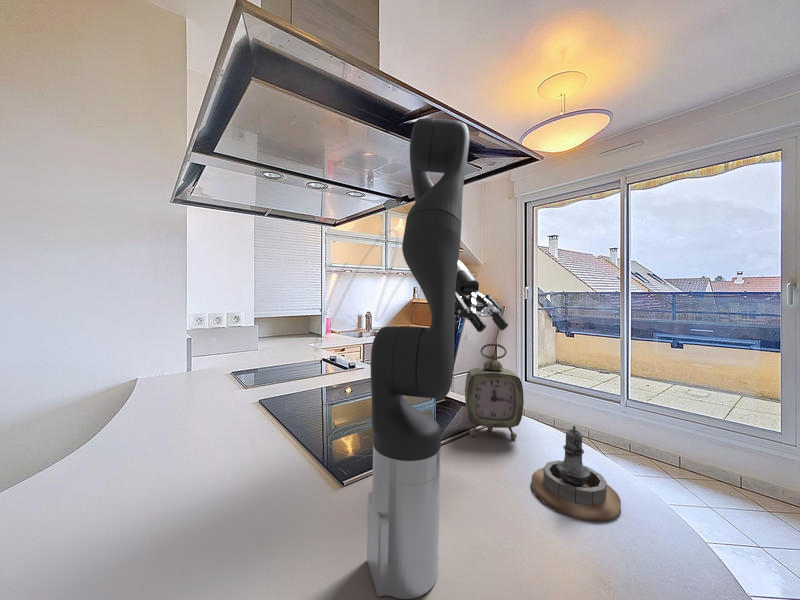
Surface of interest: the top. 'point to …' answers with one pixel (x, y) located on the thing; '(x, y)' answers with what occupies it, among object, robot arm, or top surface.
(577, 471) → the grey tall piece
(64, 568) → the top surface
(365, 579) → the top surface
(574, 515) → the socket stand
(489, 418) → the tabletop clock
